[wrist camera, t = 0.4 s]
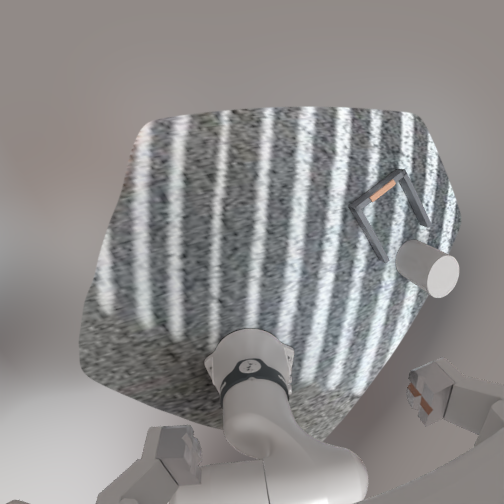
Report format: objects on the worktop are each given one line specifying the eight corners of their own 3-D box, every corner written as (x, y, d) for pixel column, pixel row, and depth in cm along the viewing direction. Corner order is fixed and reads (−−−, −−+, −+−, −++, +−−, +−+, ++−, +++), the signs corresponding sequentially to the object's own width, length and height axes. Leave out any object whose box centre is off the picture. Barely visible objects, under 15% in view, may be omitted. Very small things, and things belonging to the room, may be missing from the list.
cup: (401, 283, 60) (432, 305, 49) (390, 252, 58) (422, 270, 47) (429, 263, 60) (462, 282, 48) (419, 232, 58) (454, 247, 46)
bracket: (423, 222, 57) (432, 225, 54) (379, 258, 58) (386, 264, 55) (396, 168, 54) (406, 169, 50) (348, 206, 55) (355, 208, 51)
